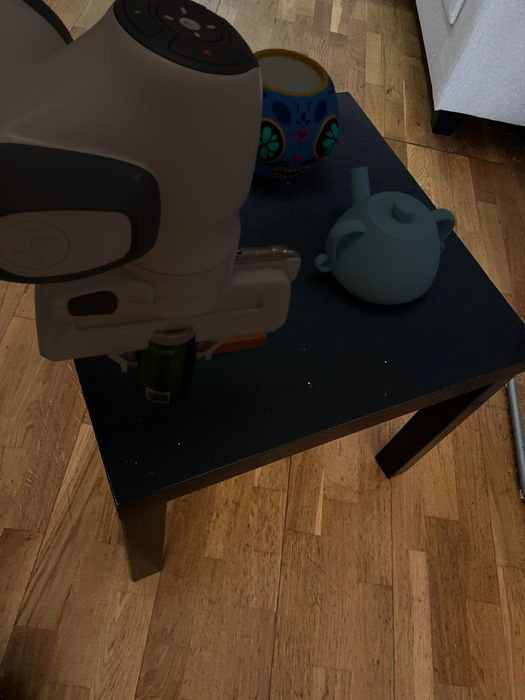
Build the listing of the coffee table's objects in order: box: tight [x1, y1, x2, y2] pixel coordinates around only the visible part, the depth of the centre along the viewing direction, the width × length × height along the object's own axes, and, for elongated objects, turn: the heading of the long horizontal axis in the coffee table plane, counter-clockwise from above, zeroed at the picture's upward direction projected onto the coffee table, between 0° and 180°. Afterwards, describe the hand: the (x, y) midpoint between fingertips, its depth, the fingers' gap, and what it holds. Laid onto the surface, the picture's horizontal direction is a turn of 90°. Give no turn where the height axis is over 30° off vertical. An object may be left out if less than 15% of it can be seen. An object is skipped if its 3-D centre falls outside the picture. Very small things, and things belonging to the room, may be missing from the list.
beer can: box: [135, 327, 198, 407], centre depth 48 cm, size 5×5×12 cm
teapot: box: [314, 165, 457, 305], centre depth 72 cm, size 20×20×13 cm
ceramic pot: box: [253, 47, 341, 180], centre depth 79 cm, size 18×18×15 cm
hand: (164, 359), depth 49 cm, fingers closed on beer can, 5 cm apart
